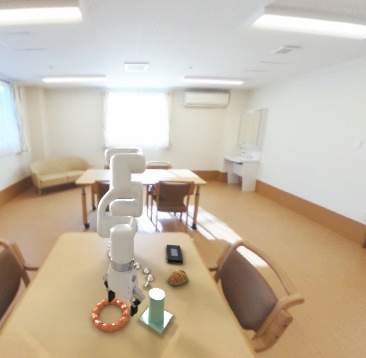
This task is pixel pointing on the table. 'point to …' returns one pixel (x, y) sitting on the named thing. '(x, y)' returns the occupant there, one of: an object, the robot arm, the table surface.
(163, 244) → the table surface
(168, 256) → the vhs tape
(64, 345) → the table surface
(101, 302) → the ring
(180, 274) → the pastry
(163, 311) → the mint knob on plate
